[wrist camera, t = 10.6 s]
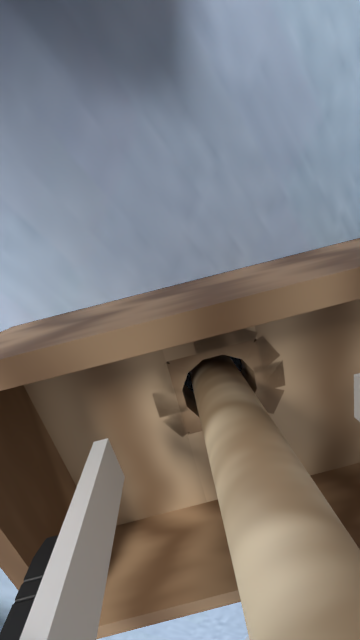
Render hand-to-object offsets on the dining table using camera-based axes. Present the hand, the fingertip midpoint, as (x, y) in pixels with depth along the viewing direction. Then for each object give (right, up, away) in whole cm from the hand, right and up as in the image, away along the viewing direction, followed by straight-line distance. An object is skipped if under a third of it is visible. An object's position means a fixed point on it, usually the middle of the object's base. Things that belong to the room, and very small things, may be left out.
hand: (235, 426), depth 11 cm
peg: (0, +2, +6) cm, 7 cm away
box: (0, 0, +7) cm, 7 cm away
